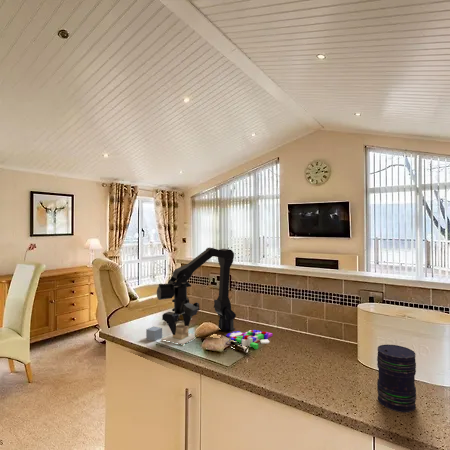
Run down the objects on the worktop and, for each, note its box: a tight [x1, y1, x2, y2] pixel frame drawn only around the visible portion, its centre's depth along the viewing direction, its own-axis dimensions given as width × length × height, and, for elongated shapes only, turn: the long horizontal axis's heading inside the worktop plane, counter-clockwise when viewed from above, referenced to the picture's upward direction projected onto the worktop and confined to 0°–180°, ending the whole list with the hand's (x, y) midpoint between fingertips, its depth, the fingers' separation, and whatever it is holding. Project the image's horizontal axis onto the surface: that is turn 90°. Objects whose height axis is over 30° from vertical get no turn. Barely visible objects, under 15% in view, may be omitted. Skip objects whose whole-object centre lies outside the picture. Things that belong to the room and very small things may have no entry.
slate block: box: [145, 326, 163, 342], centre depth 145 cm, size 5×5×4 cm
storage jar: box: [376, 344, 417, 413], centre depth 92 cm, size 10×10×15 cm
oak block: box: [173, 324, 189, 339], centre depth 144 cm, size 5×5×4 cm
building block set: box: [225, 329, 273, 350], centre depth 143 cm, size 25×20×4 cm
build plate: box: [160, 332, 195, 346], centre depth 144 cm, size 12×12×1 cm
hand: (180, 331), depth 144 cm, fingers open, 9 cm apart
